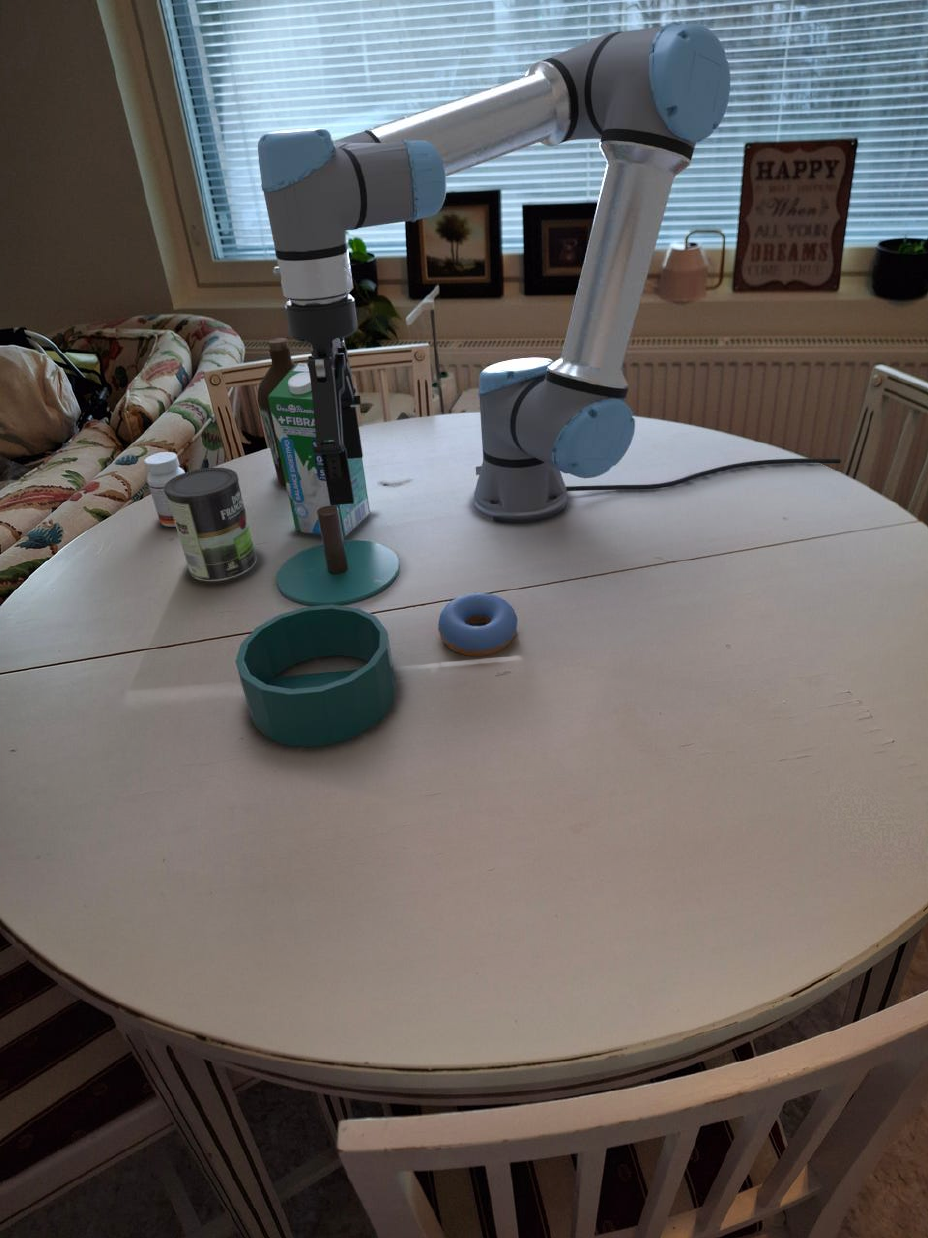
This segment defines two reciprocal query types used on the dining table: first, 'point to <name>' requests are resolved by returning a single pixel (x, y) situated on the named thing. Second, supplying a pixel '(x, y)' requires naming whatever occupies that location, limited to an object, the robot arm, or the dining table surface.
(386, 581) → the lid
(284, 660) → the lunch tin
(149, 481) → the pill bottle
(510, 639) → the doughnut
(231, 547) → the coffee can
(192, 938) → the dining table surface
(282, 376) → the olive oil
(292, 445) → the milk carton
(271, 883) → the dining table surface
